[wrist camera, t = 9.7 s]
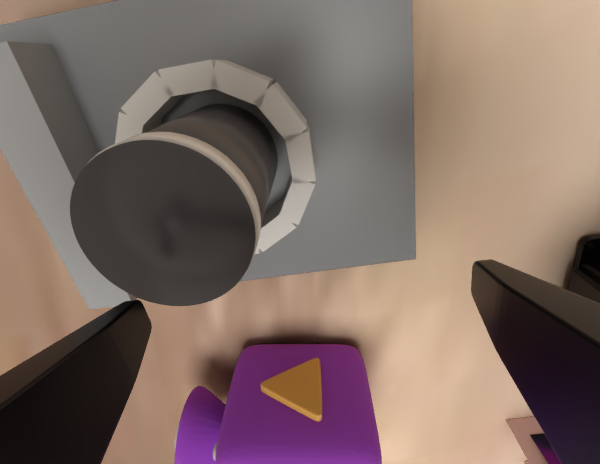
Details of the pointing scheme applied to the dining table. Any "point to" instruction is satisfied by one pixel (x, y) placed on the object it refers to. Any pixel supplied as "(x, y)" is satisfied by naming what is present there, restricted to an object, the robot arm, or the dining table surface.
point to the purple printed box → (533, 441)
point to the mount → (234, 91)
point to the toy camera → (284, 410)
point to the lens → (177, 205)
